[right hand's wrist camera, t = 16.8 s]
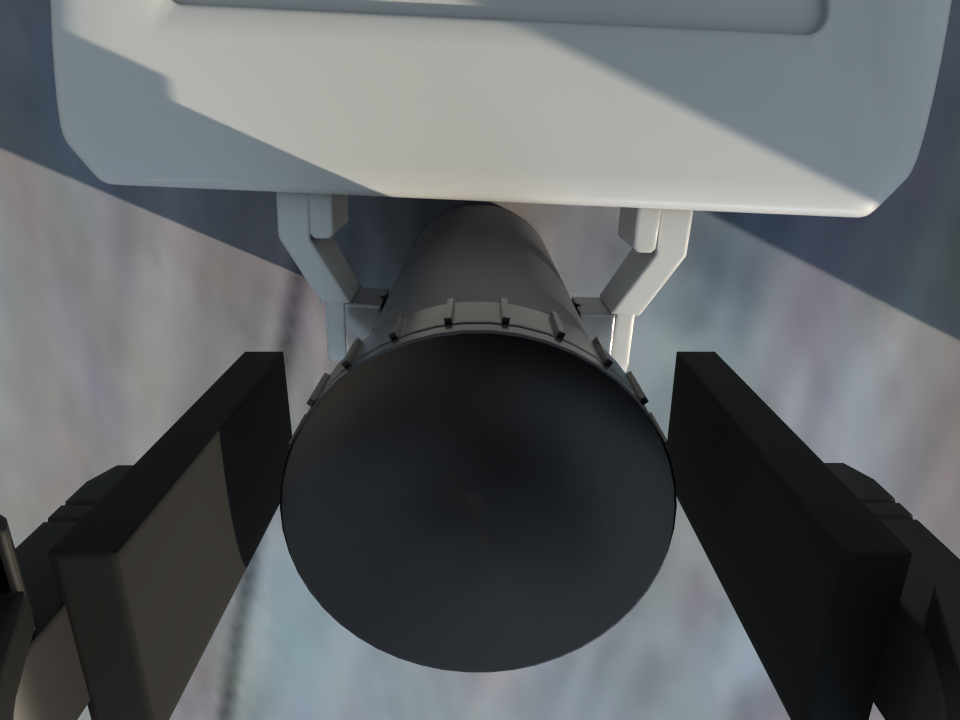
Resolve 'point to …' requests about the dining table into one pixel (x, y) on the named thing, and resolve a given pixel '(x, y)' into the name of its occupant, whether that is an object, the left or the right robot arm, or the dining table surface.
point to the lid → (478, 489)
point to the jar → (479, 266)
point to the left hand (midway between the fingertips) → (479, 361)
